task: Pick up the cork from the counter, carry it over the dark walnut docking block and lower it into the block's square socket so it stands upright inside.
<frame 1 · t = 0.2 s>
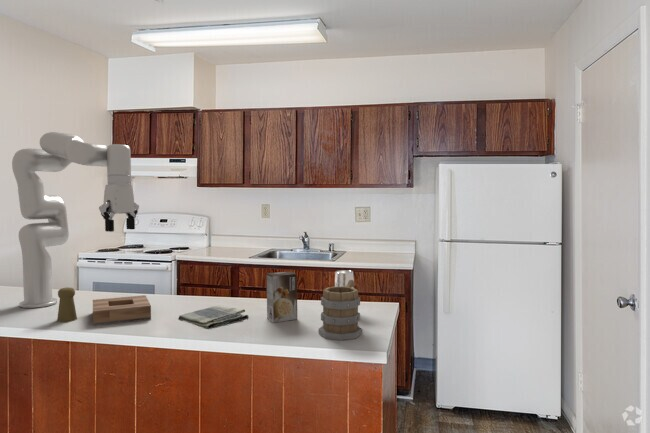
hand: (120, 230, 165), 31 cm above the counter, tool pointing down, fingers open, 9 cm apart
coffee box: (282, 319, 165), on the counter
tankard: (344, 331, 152), on the counter
cork: (67, 320, 164), on the counter
dish towel: (214, 320, 166), on the counter
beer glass: (344, 312, 175), on the counter
docking block: (121, 316, 169), on the counter
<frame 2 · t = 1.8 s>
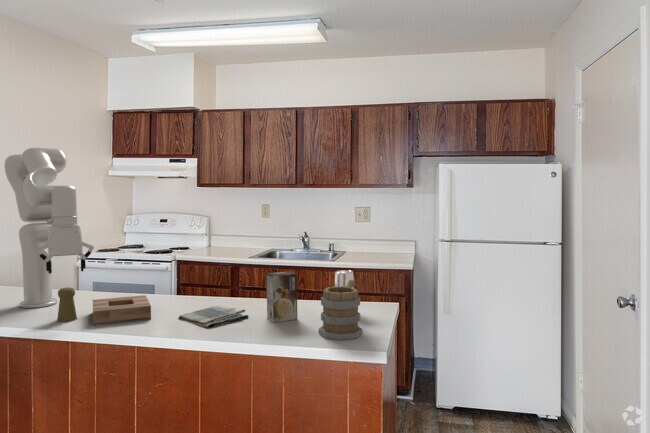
hand: (66, 272, 162), 17 cm above the counter, tool pointing down, fingers open, 9 cm apart
nothing on the counter moved.
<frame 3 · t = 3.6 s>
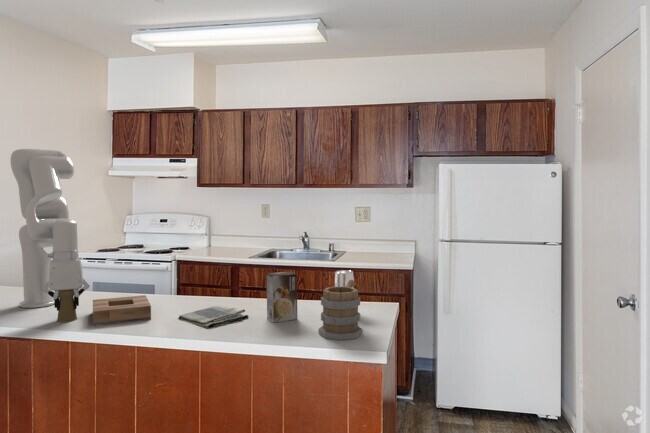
hand: (66, 308, 164), 4 cm above the counter, tool pointing down, fingers closed on cork, 4 cm apart
cork: (67, 320, 164), on the counter, touching gripper
everything else where it was.
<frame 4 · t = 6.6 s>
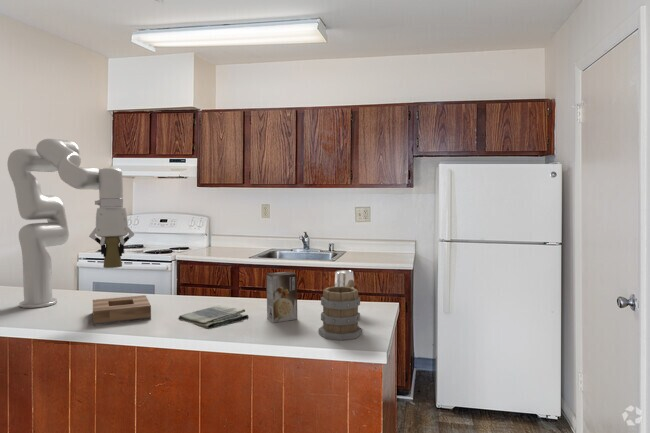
hand: (112, 255, 167), 22 cm above the counter, tool pointing down, fingers closed on cork, 4 cm apart
cork: (112, 267, 167), point 18 cm above the counter, touching gripper
everything else where it was.
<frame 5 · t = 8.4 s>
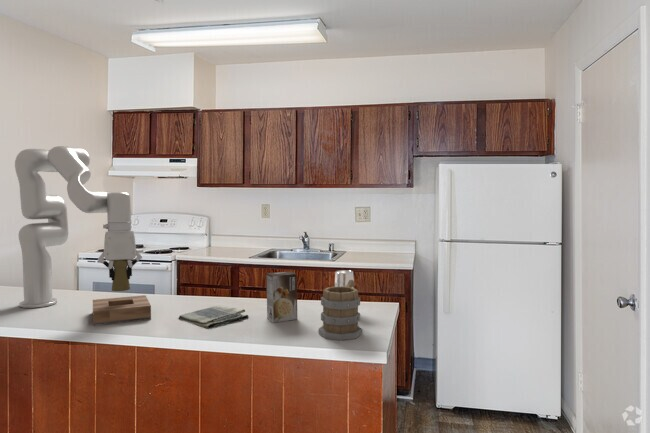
hand: (120, 278, 168), 13 cm above the counter, tool pointing down, fingers closed on cork, 4 cm apart
cork: (121, 290, 168), point 9 cm above the counter, touching gripper
everything else where it was.
when the fingers open (6 cm above the counter, at t = 10.0 s): cork drops 2 cm, resting on docking block.
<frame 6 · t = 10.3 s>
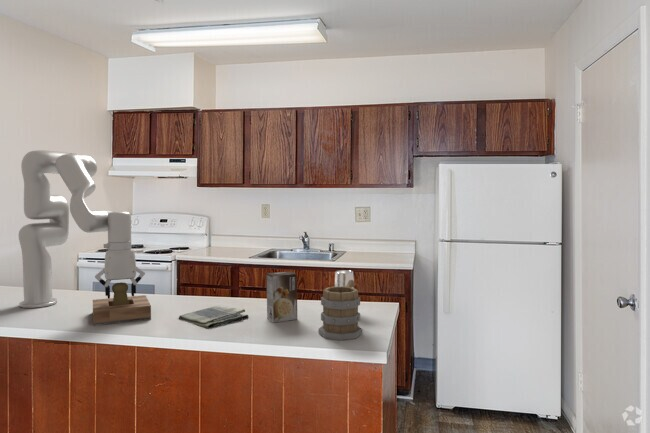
hand: (120, 296, 168), 7 cm above the counter, tool pointing down, fingers open, 7 cm apart
cork: (121, 314, 169), point 1 cm above the counter, touching docking block
everything else where it was.
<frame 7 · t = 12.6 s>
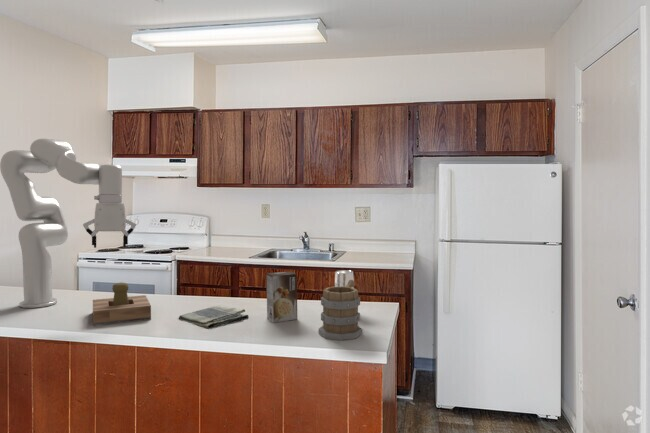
hand: (109, 246, 171), 24 cm above the counter, tool pointing down, fingers open, 9 cm apart
nothing on the counter moved.
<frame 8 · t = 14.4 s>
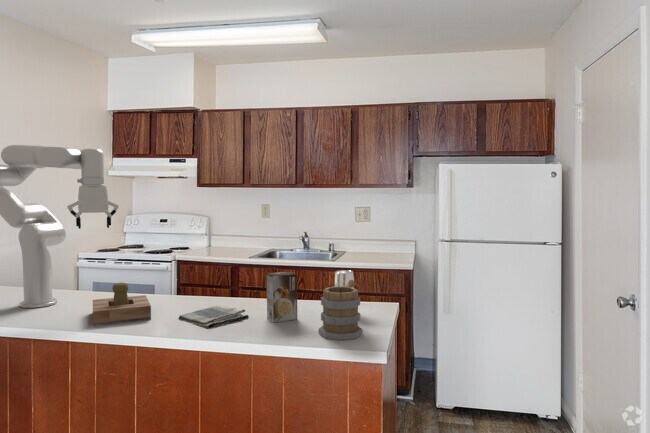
hand: (94, 227, 179), 30 cm above the counter, tool pointing down, fingers open, 9 cm apart
nothing on the counter moved.
at the end: cork 0.1 cm off-centre on the docking block, point 0.6 cm above the docking block's base; cork tilted 0°; the gripper is holding nothing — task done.
